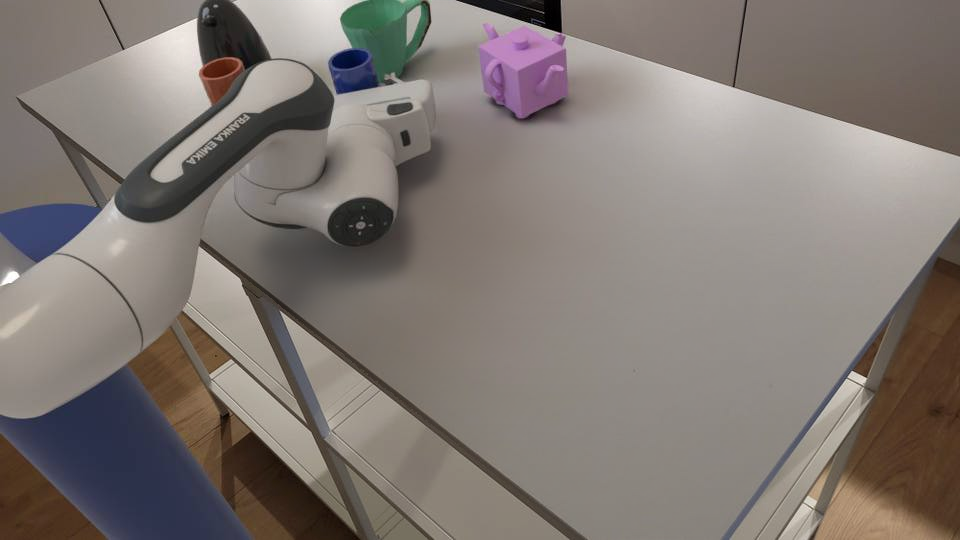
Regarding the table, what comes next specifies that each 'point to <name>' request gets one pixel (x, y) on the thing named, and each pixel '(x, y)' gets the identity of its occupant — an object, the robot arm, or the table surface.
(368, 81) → the blue cup
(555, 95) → the teapot
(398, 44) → the mug
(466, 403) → the table surface
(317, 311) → the table surface
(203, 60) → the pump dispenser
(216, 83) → the terracotta cup
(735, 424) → the table surface
